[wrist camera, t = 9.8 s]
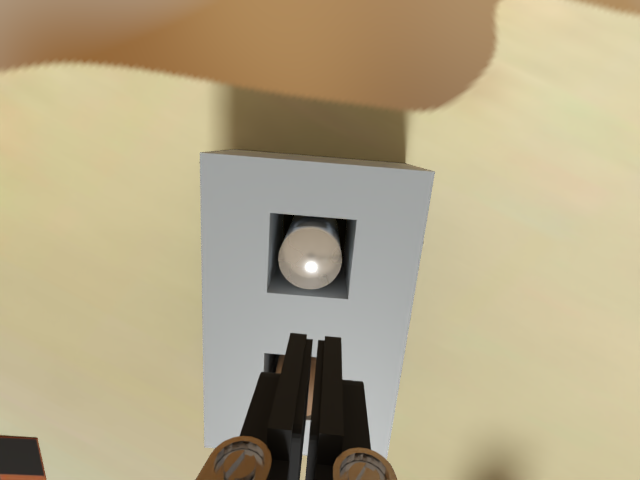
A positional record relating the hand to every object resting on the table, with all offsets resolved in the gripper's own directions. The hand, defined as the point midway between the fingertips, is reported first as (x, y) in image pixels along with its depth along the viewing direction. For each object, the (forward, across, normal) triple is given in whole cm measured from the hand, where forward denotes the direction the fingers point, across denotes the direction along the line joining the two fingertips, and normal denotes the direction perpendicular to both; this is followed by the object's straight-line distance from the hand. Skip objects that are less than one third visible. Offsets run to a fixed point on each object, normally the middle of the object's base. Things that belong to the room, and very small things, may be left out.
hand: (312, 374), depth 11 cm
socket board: (+20, +1, +5) cm, 20 cm away
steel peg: (+19, +1, 0) cm, 19 cm away
